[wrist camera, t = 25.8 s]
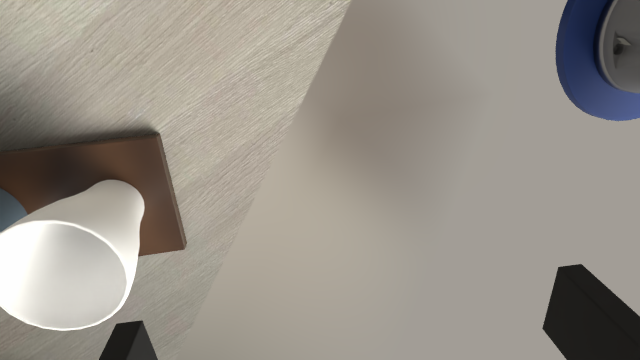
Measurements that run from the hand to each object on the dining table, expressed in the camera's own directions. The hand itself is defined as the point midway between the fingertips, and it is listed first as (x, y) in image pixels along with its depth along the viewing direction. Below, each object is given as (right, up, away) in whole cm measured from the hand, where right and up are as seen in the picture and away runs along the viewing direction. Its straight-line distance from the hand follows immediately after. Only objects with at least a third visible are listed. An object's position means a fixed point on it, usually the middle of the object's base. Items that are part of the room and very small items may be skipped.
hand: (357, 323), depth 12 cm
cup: (-24, +2, +30) cm, 38 cm away
